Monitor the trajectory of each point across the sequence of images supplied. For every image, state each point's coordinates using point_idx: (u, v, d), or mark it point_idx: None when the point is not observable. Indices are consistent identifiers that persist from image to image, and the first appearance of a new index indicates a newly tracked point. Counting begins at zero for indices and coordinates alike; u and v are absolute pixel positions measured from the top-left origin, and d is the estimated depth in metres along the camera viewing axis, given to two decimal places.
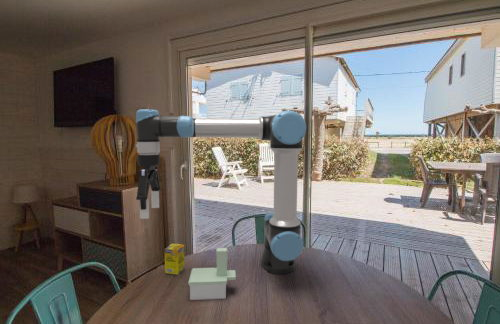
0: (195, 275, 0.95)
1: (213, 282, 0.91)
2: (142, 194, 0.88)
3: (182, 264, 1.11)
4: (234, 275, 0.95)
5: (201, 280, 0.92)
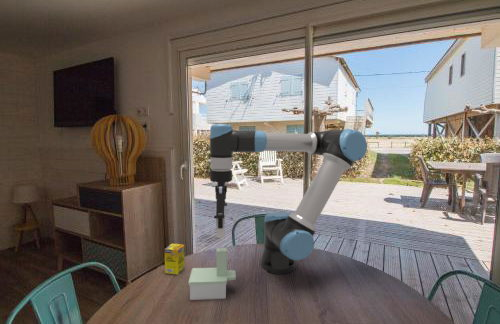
0: (195, 275, 0.95)
1: (213, 282, 0.91)
2: (221, 213, 0.84)
3: (182, 264, 1.11)
4: (234, 275, 0.95)
5: (201, 280, 0.92)
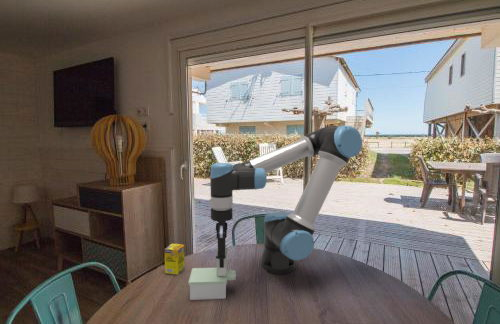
0: (195, 275, 0.95)
1: (213, 282, 0.91)
2: (222, 255, 0.90)
3: (182, 264, 1.11)
4: (234, 275, 0.95)
5: (201, 280, 0.92)
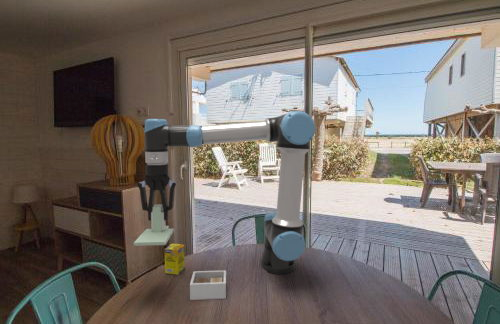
0: (152, 240, 0.88)
1: (170, 233, 0.95)
2: (172, 205, 0.97)
3: (182, 264, 1.11)
4: None
5: (165, 237, 0.91)
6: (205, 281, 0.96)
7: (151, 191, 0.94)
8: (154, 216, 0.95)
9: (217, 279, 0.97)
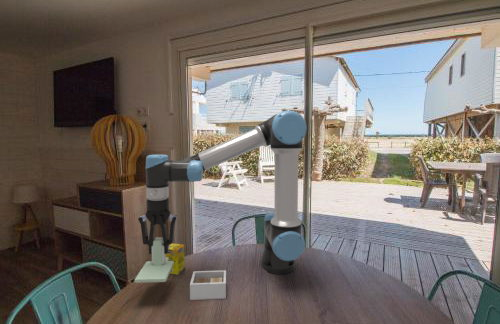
0: (152, 276, 0.89)
1: (171, 267, 0.96)
2: (173, 238, 0.98)
3: (182, 264, 1.11)
4: None
5: (165, 272, 0.92)
6: (205, 281, 0.96)
7: (152, 226, 0.95)
8: (155, 250, 0.96)
9: (217, 279, 0.97)
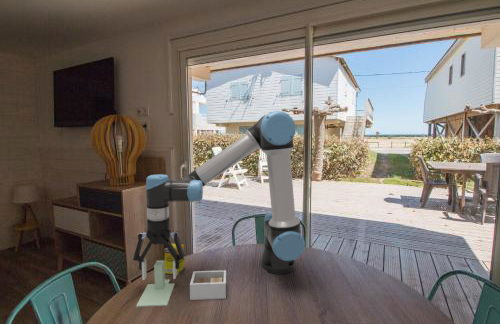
0: (154, 301, 0.90)
1: None
2: (183, 253, 0.99)
3: (182, 264, 1.11)
4: (166, 279, 1.04)
5: (166, 297, 0.93)
6: (205, 281, 0.96)
7: (149, 244, 0.96)
8: (156, 274, 0.97)
9: (217, 279, 0.97)
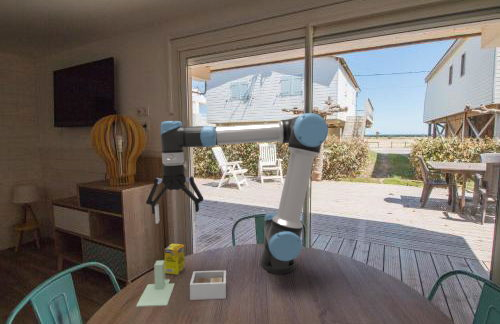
0: (154, 301, 0.90)
1: None
2: (202, 196, 1.01)
3: (182, 264, 1.11)
4: (166, 279, 1.04)
5: (166, 297, 0.93)
6: (205, 281, 0.96)
7: (164, 189, 0.97)
8: (156, 274, 0.97)
9: (217, 279, 0.97)
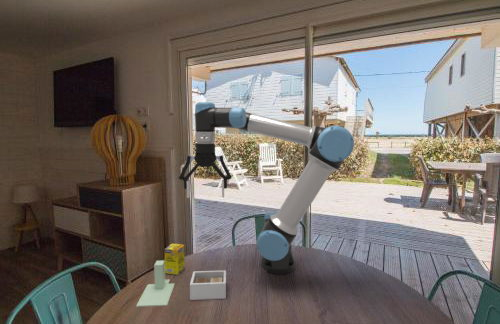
0: (154, 301, 0.90)
1: None
2: (230, 174, 1.08)
3: (182, 264, 1.11)
4: (166, 279, 1.04)
5: (166, 297, 0.93)
6: (205, 281, 0.96)
7: (196, 166, 1.04)
8: (156, 274, 0.97)
9: (217, 279, 0.97)
